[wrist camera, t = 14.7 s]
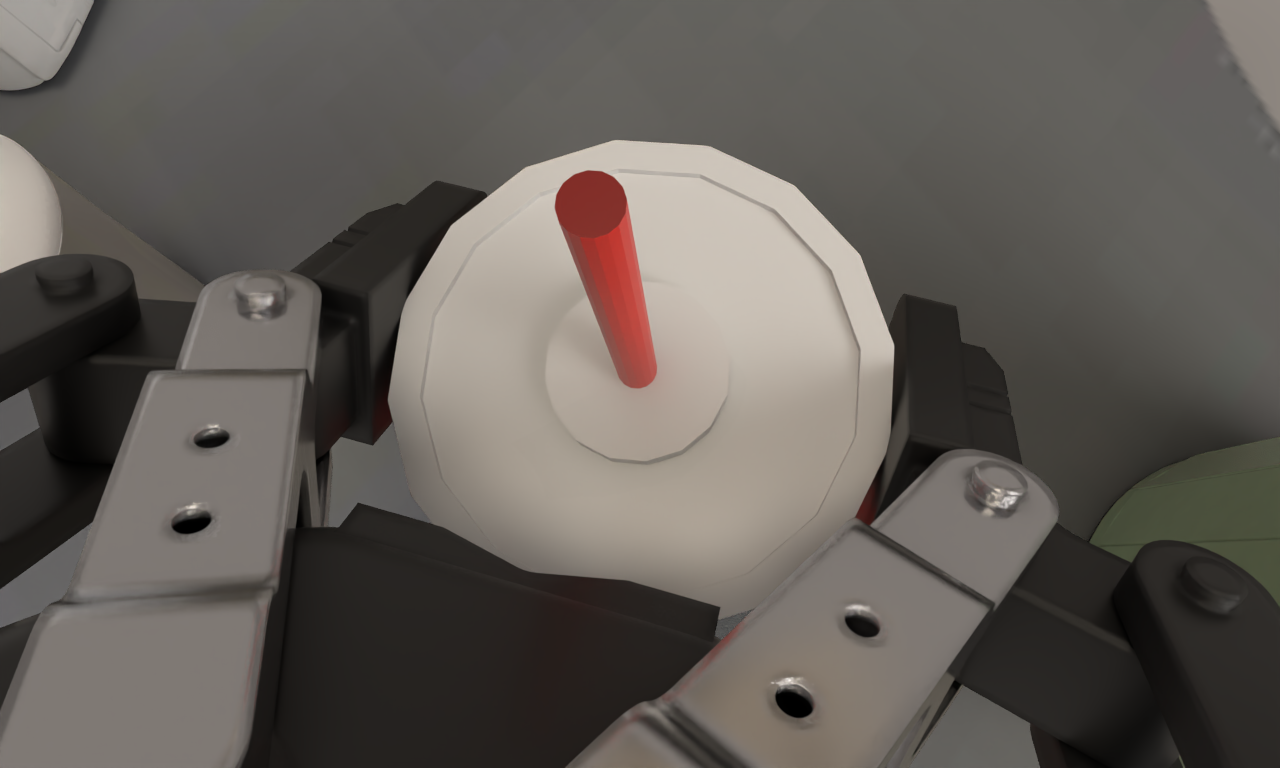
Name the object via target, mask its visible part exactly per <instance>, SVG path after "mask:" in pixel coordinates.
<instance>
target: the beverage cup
mask: <svg viewBox="0 0 1280 768" xmlns="http://www.w3.org/2000/svg"><path fill="white" fill-rule="evenodd" d="M893 366H894V343H893V341H892V338H891V335H890V333H889V330H888V327H887V325H886V322H885V320H884V317H883V314H882V312H881V309H880V306H879V304H878V301H877V298H876V296H875V293H874V291H873V288H872V285H871V283H870V280H869V277H868V275H867V272H866V269H865V267H864V264H863V261H862V259H861V256H860V254H859V253H858V252H857V251H856V250H855V249H854V248H853V247H852V246H851V245H850V244H849V243H848V242H847V241H846V240H845V238H844V237H843V236H842V235H841V234H840V233H839V232H838V231H837V230H836V229H835V228H834V227H833V226H832V225H831V224H830V223H829V222H828V220H827V219H826V218H825V217H824V216H823V215H822V214H821V213H820V212H819V211H818V210H817V209H816V208H815V207H814V206H813V205H812V204H811V202H810V201H809V200H808V199H807V198H806V197H805V196H804V195H803V194H802V193H801V192H800V191H799V190H798V189H797V188H796V187H795V186H794V185H792V184H790V183H788V182H786V181H784V180H781V179H779V178H777V177H775V176H773V175H771V174H768V173H766V172H764V171H762V170H760V169H758V168H755V167H753V166H751V165H749V164H747V163H745V162H742V161H740V160H738V159H736V158H734V157H732V156H729V155H727V154H725V153H723V152H721V151H719V150H716V149H714V148H712V147H710V146H701V145H686V144H670V143H654V142H639V141H623V140H613V141H610V142H607V143H604V144H600V145H597V146H594V147H591V148H587V149H584V150H581V151H578V152H574V153H571V154H568V155H565V156H561V157H558V158H555V159H552V160H548V161H545V162H542V163H539V164H535V165H532V166H529V167H526V168H524V169H523V170H522V171H520V172H519V173H518V174H516V175H515V176H514V177H513V178H511V179H510V180H509V181H507V182H506V183H505V184H504V185H502V186H501V187H500V188H498V189H497V190H496V191H495V192H493V193H492V194H491V195H489V196H488V197H487V198H486V199H484V200H483V201H482V202H480V203H479V204H478V205H477V206H475V207H474V208H473V209H471V210H470V211H469V212H468V213H466V214H465V215H464V216H462V217H461V218H460V219H459V220H457V221H456V222H455V223H453V224H452V225H451V226H450V228H449V230H448V231H447V233H446V235H445V236H444V238H443V240H442V241H441V243H440V245H439V246H438V248H437V250H436V251H435V253H434V255H433V256H432V258H431V260H430V261H429V263H428V265H427V266H426V268H425V270H424V271H423V273H422V275H421V276H420V278H419V280H418V281H417V283H416V285H415V286H414V288H413V290H412V291H411V293H410V295H409V296H408V298H407V300H406V302H405V305H404V308H403V311H402V314H401V320H400V326H399V332H398V339H397V345H396V351H395V358H394V364H393V370H392V376H391V383H390V389H389V395H388V404H389V408H390V412H391V416H392V420H393V424H394V428H395V432H396V437H397V441H398V445H399V449H400V453H401V457H402V461H403V465H404V469H405V474H406V478H407V482H408V486H409V490H410V494H411V496H412V497H413V499H414V500H415V501H416V503H417V504H418V505H419V507H420V508H421V509H422V511H423V512H424V513H425V515H426V516H427V517H428V519H429V520H430V521H431V523H432V524H434V525H437V526H441V527H444V528H446V529H448V530H450V531H451V532H453V533H455V534H457V535H459V536H461V537H462V538H464V539H466V540H468V541H470V542H472V543H474V544H475V545H477V546H479V547H481V548H483V549H485V550H487V551H488V552H490V553H492V554H494V555H496V556H498V557H500V558H501V559H503V560H505V561H507V562H509V563H511V564H513V565H514V566H516V567H518V568H520V569H523V570H526V571H529V572H535V573H546V574H557V575H569V576H581V577H593V578H604V579H616V580H628V581H632V582H635V583H639V584H642V585H646V586H649V587H652V588H656V589H659V590H663V591H666V592H670V593H673V594H677V595H680V596H684V597H687V598H691V599H694V600H698V601H701V602H705V603H708V604H712V605H715V606H718V607H720V612H719V617H718V620H720V619H723V618H726V617H729V616H733V615H736V614H739V613H742V612H746V611H749V610H752V609H755V608H756V607H757V606H758V605H759V604H760V603H761V602H762V601H763V600H764V599H765V598H767V597H768V596H769V595H770V594H771V593H772V592H773V591H774V590H775V589H776V588H777V587H778V586H779V585H780V584H781V583H782V582H783V581H784V580H785V579H787V578H788V577H789V576H790V575H791V574H792V573H793V572H794V571H795V570H796V569H797V568H798V567H799V566H800V565H801V564H802V563H803V562H804V561H805V560H806V559H808V558H809V557H810V556H811V555H812V554H813V553H814V552H815V551H816V550H817V549H818V548H819V547H820V546H821V545H822V544H823V543H824V542H825V541H826V540H827V539H829V538H830V537H831V536H832V535H833V534H834V533H835V532H836V531H837V530H838V529H839V528H840V527H841V526H842V525H843V524H845V523H846V522H847V521H848V520H850V519H852V518H855V516H856V514H857V512H858V510H859V508H860V506H861V504H862V502H863V500H864V497H865V495H866V493H867V491H868V489H869V487H870V485H871V483H872V481H873V479H874V477H875V475H876V473H877V471H878V469H879V467H880V465H881V463H882V461H883V458H884V456H885V454H886V451H887V447H888V443H889V438H890V434H891V412H892V389H893Z"/></svg>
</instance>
